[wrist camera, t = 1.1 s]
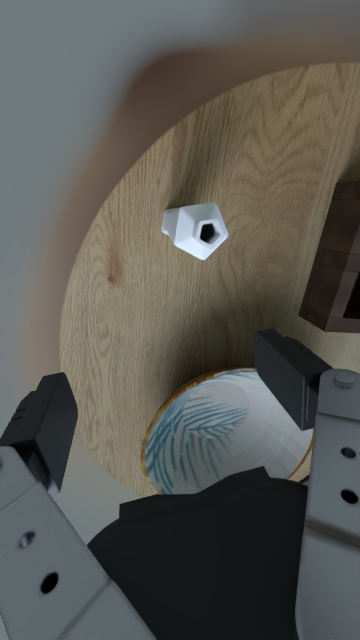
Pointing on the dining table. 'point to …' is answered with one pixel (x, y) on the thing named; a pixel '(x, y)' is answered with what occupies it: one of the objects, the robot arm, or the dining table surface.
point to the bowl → (220, 433)
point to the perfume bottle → (195, 228)
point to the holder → (337, 266)
